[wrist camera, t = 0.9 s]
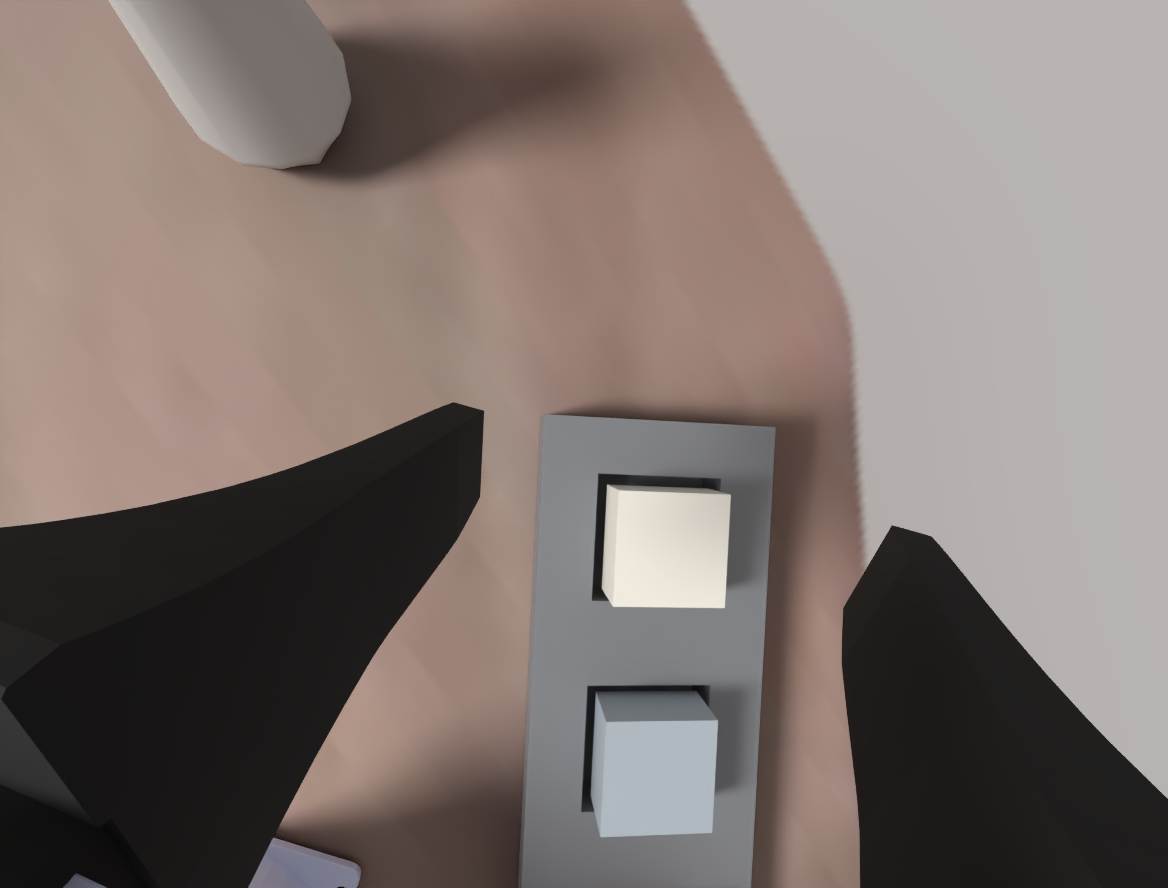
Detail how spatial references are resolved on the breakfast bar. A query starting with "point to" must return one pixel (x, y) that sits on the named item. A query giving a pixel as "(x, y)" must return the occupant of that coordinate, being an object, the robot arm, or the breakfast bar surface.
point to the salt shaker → (246, 74)
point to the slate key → (653, 763)
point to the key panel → (640, 650)
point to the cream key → (665, 546)
